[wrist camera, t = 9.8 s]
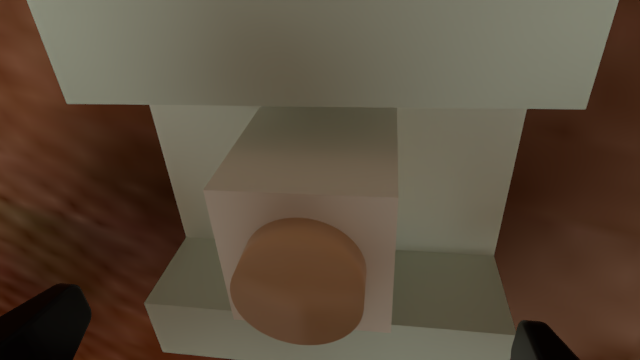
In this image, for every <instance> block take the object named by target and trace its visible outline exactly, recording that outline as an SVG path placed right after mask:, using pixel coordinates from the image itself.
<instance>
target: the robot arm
mask: <svg viewBox="0 0 640 360" xmlns="http://www.w3.org/2000/svg"><path fill="white" fill-rule="evenodd" d="M90 320H91V309H90V306H89V304H88V302H87V300H86V298H85V296H84V294H83V292H82V290H81V288H80V287H79V286H78V285H75V284H64V283H60V284H56V285H54V286H52V287H51V288H49V289H47V290H45V291H44V292H42V293H40V294H38V295H37V296H35V297H33V298H32V299H30V300H28V301H26V302H25V303H23V304H21V305H19V306H18V307H16V308H14V309H13V310H11V311H9V312H7V313H6V314H4V315H2V316H0V360H73V358H74V356H75V353H76V351H77V349H78V347H79V345H80V342H81V340H82V338H83V336H84V334H85V331H86V329H87V327H88V325H89V323H90ZM511 360H580V359H579V358H578V357H577V356H576V355H575V354H574V353H573V352H572V351H571V350H570V349H569V348H568V346H567V345H566V344H565V343H564V342H563V341H562V340H561V339H560V338H559V337H558V336H557V335H556V333H555V332H554V331H553V330H552V329H551V328H550V327H549V326H548V325H547V324H545V323H544V322H540V321H528V320H523V321H521V322H520V323H519V324H518V327H517V331H516V334H515V337H514V341H513V344H512V348H511Z"/></svg>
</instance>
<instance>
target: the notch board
mask: <svg viewBox="0 0 640 360" xmlns="http://www.w3.org/2000/svg"><path fill="white" fill-rule="evenodd" d="M618 1H619V0H27V2H28V5H29V8H30V10H31V13H32V15H33V18H34V20H35V23H36V26H37V28H38V31H39V33H40V36H41V39H42V41H43V44H44V46H45V49H46V51H47V54H48V57H49V59H50V62H51V64H52V67H53V70H54V72H55V75H56V77H57V80H58V82H59V85H60V88H61V90H62V93H63V95H64V98H65V100H66V103H67V104H130V105H149V106H150V109H151V113H152V116H153V120H154V124H155V127H156V131H157V134H158V138H159V142H160V145H161V149H162V152H163V156H164V160H165V163H166V167H167V170H168V174H169V177H170V181H171V185H172V188H173V192H174V195H175V199H176V203H177V206H178V210H179V213H180V217H181V221H182V224H183V228H184V231H185V235H186V238H185V240H184V241H183V243H182V245H181V246H180V248H179V249H178V251H177V252H176V254H175V256H174V257H173V259H172V260H171V262H170V263H169V265H168V266H167V268H166V270H165V271H164V273H163V274H162V276H161V277H160V279H159V281H158V282H157V284H156V285H155V287H154V288H153V290H152V292H151V293H150V295H149V296H148V298H147V299H146V301H145V303H144V304H145V307H146V310H147V312H148V315H149V317H150V320H151V323H152V325H153V328H154V330H155V333H156V335H157V338H158V341H159V343H160V346H161V348H162V351H163V352H169V353H178V354H188V355H197V356H207V357H216V358H226V359H236V360H510V357H511V348H512V344H513V341H514V337H515V334H516V330H515V327H514V323H513V320H512V316H511V313H510V310H509V306H508V303H507V299H506V296H505V292H504V289H503V285H502V282H501V279H500V275H499V272H498V268H497V265H496V261H495V258H494V253H495V249H496V244H497V240H498V235H499V231H500V226H501V222H502V218H503V213H504V209H505V204H506V200H507V195H508V191H509V186H510V182H511V178H512V173H513V169H514V164H515V160H516V155H517V151H518V146H519V142H520V138H521V133H522V129H523V124H524V120H525V115H526V111H527V109H586V107H587V104H588V100H589V97H590V94H591V90H592V87H593V84H594V80H595V77H596V74H597V71H598V67H599V64H600V61H601V57H602V54H603V51H604V48H605V44H606V41H607V38H608V34H609V31H610V28H611V24H612V21H613V18H614V15H615V11H616V8H617V5H618ZM260 107H363V108H397V142H398V214H397V232H396V250H395V268H394V286H393V304H392V322H391V333H383V332H371V331H360V330H353V331H352V332H351V333H350V334H348V335H347V336H345V337H344V338H342V339H340V340H337V341H334V342H331V343H327V344H321V345H298V344H291V343H287V342H283V341H280V340H277V339H274V338H272V337H269V336H267V335H265V334H263V333H261V332H260V331H258V330H257V329H255V328H254V327H252V326H251V325H250V324H249V323H248V322H247V321H245V320H234V318H233V314H232V310H231V306H230V302H229V297H228V293H227V289H226V285H225V281H224V276H223V272H222V268H221V264H220V260H219V255H218V251H217V247H216V243H215V239H214V234H213V230H212V226H211V222H210V217H209V213H208V209H207V205H206V201H205V196H204V192H203V189H204V188H205V186H206V185H207V183H208V182H209V181H210V179H211V178H212V176H213V175H214V173H215V172H216V170H217V169H218V167H219V166H220V165H221V163H222V162H223V160H224V159H225V157H226V156H227V154H228V153H229V151H230V150H231V148H232V147H233V146H234V144H235V143H236V141H237V140H238V138H239V137H240V135H241V134H242V132H243V131H244V130H245V128H246V127H247V125H248V124H249V122H250V121H251V119H252V118H253V116H254V115H255V113H256V112H257V111H258V109H259V108H260Z"/></svg>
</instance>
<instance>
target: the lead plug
mask: <svg viewBox="0 0 640 360" xmlns="http://www.w3.org/2000/svg"><path fill="white" fill-rule="evenodd" d="M203 192H204V196H205V201H206V205H207V209H208V213H209V217H210V222H211V226H212V230H213V234H214V239H215V243H216V247H217V251H218V255H219V260H220V264H221V268H222V272H223V276H224V281H225V285H226V289H227V293H228V297H229V302H230V306H231V310H232V314H233V318H234V320H245V321H247V322H248V323H249V324H250V325H251V326H252V327H254V328H255V329H257V330H258V331H260V332H261V333H263V334H265V335H267V336H269V337H272V338H274V339H277V340H280V341H283V342H287V343H291V344H298V345H321V344H327V343H331V342H334V341H337V340H340V339H342V338H344V337H345V336H347V335H348V334H350V333H351V332H352V331H353V330H360V331H371V332H383V333H391V322H392V304H393V286H394V268H395V250H396V232H397V214H398V142H397V108H363V107H260V108H259V109H258V111H257V112H256V113H255V115H254V116H253V118H252V119H251V121H250V122H249V124H248V125H247V127H246V128H245V130H244V131H243V132H242V134H241V135H240V137H239V138H238V140H237V141H236V143H235V144H234V146H233V147H232V148H231V150H230V151H229V153H228V154H227V156H226V157H225V159H224V160H223V162H222V163H221V165H220V166H219V167H218V169H217V170H216V172H215V173H214V175H213V176H212V178H211V179H210V181H209V182H208V183H207V185H206V186H205V188H204V189H203Z"/></svg>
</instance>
